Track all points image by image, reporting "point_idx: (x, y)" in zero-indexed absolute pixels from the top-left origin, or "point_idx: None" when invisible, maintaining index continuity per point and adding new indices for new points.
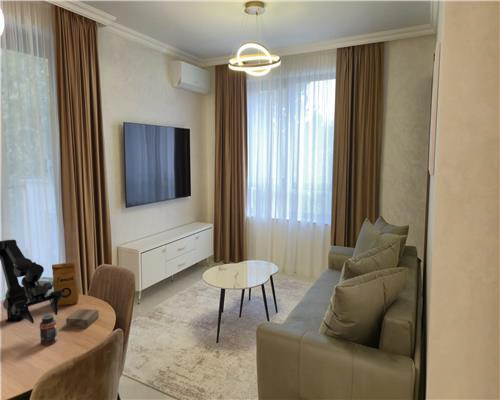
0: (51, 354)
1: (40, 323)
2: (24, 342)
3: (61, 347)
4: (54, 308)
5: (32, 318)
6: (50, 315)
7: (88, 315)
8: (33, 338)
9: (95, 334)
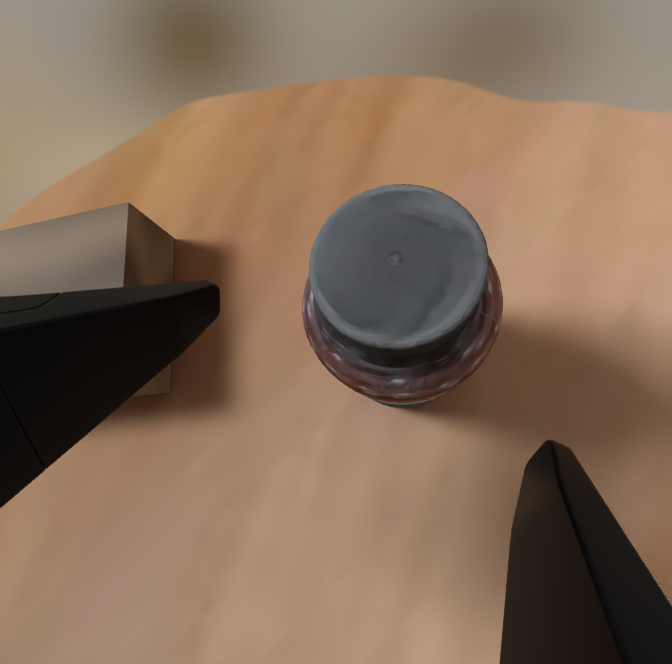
0: (537, 212)
1: (456, 373)
2: (457, 567)
3: None
4: (118, 329)
5: (571, 494)
6: (336, 252)
7: (62, 242)
8: (377, 534)
9: (244, 141)
